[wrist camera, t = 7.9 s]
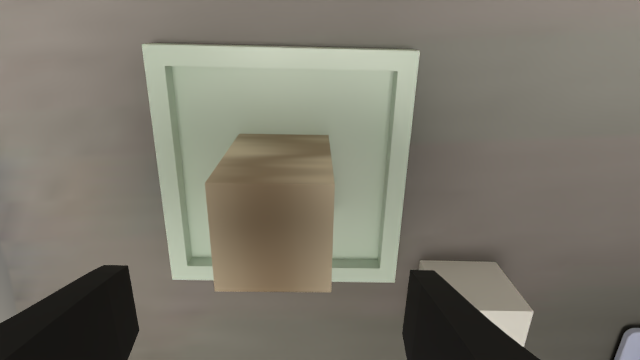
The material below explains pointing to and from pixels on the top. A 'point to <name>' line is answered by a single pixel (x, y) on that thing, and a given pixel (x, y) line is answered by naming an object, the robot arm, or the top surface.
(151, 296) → the top surface
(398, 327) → the top surface
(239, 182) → the birch block
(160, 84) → the sage tray
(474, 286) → the white cube
